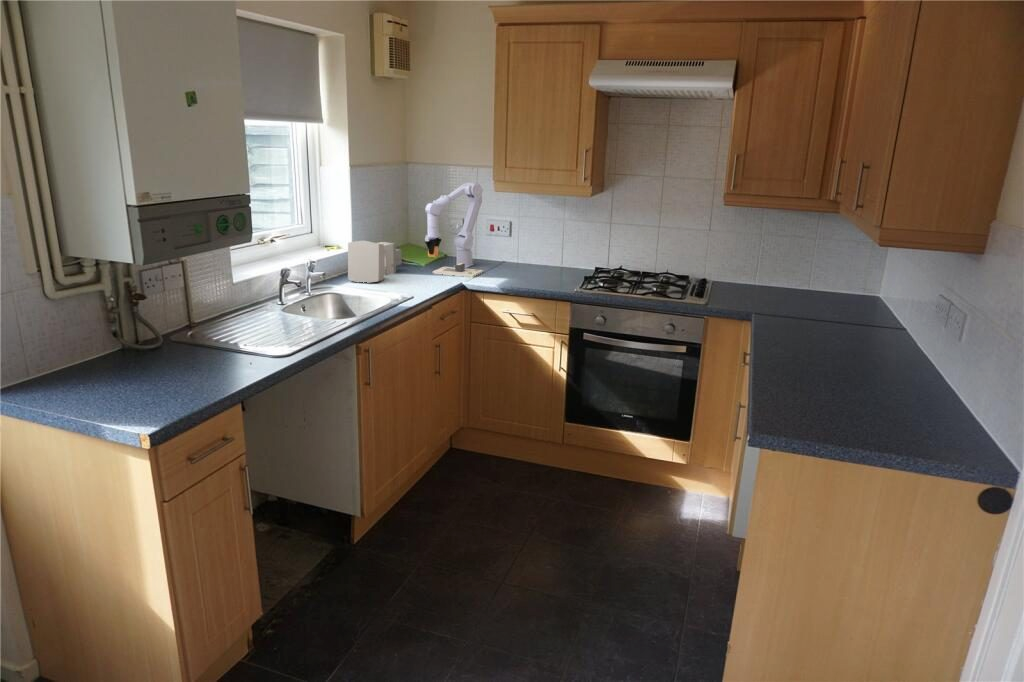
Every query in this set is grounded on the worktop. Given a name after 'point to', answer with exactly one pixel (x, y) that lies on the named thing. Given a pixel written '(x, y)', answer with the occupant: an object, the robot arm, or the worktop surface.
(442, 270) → the light wooden flat board
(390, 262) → the circuit breaker
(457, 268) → the breaker lever
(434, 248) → the cap
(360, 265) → the electrical switch box
